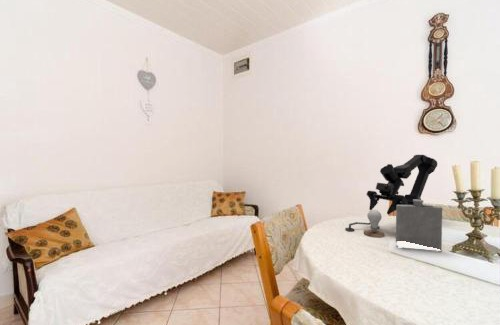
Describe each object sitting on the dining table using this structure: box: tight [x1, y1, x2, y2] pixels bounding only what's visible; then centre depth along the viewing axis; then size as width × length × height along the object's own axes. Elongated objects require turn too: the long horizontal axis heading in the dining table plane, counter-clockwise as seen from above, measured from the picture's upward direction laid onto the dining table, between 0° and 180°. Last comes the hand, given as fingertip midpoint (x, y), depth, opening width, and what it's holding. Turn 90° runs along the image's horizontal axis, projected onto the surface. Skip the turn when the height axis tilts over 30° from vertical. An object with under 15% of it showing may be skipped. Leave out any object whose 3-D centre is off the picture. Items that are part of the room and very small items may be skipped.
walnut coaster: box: [363, 229, 385, 238], centre depth 119 cm, size 9×9×1 cm
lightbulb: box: [366, 209, 383, 233], centre depth 119 cm, size 6×6×11 cm
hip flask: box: [395, 199, 443, 251], centre depth 102 cm, size 16×4×20 cm, turn 72°
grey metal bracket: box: [344, 221, 381, 233], centre depth 127 cm, size 18×4×4 cm, turn 104°
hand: (378, 211), depth 121 cm, fingers open, 9 cm apart
